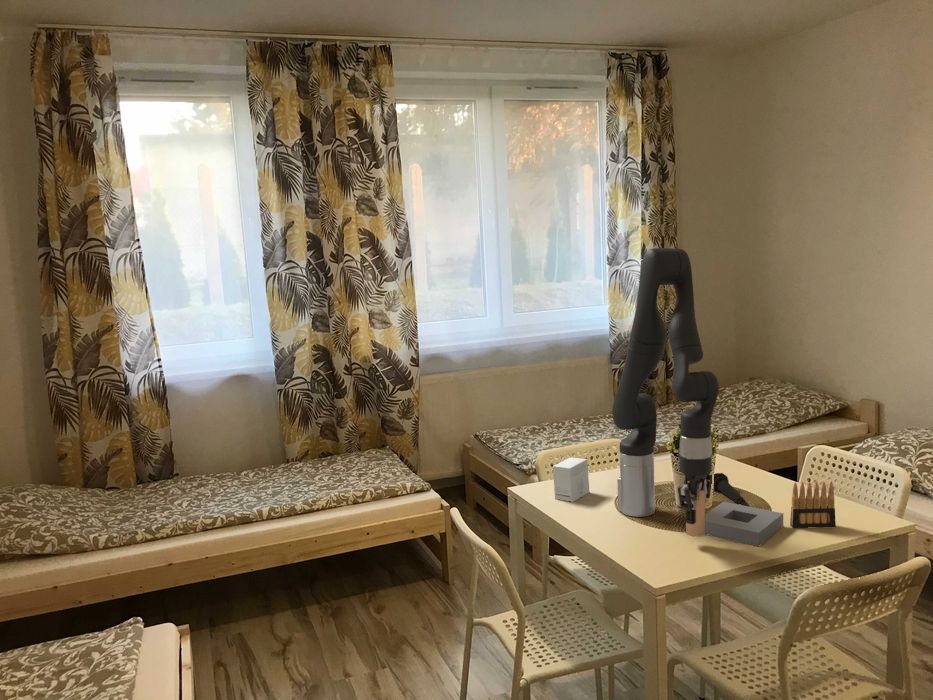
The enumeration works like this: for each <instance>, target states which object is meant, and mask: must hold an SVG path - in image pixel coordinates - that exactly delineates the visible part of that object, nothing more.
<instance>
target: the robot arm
mask: <svg viewBox="0 0 933 700" xmlns="http://www.w3.org/2000/svg"><path fill="white" fill-rule="evenodd" d="M660 286H673V288H674V292H675V305H674V309H673V313H672V314H671V318H670V321H669V324H668V334H667V328H666V325H665V322H664V320H663V318H662V316H661V313H660V311H659V307H658V295H659V294H658V293H659V288H660ZM636 299H637V300H636V307H635V312H634V316H633V321H632V326H631V331H630V334H629V338H628V344H627V350H626V357H625V361H624V365H623V369H622V373H621V378H620V381H619V384H618V387H617V390H616V392H615V396H614V400H613V403H612V410H611V413H612V414H611V415H612V421H613V424H614V425H615V426H616V428H618V429H619V430H623V431H625V430H626V431H628V430H631V432H629V434H628V435H627V436H626V437H624V438H623V439H621V440H620V442H619V471H620V472H619V474H620V475H619V476H618V478H617V480H616V481H617V482H616V483H617V511H618V512H620V513H622V514H624V515H626V516H629V517H637V518H639V517H642V518H643V517H649V516H651V515H653V514H655V512H656V510H655V509H656V504H655V503H656V502H655V500H656V499H655V497H656V496H655V491H656V490H655V458H654V457H655V456H654V455H655V454H654V452H655V451H654V450H655V449H654V447H655V444H656V443H657V442H656V441H657V424H658V423H657V421H658V420H657V418H658V417H657V406H656V403H655V400H654V399H653V397H652V395H650V394H647V393H640V392H641V389H642V386H643V385H644V383H645V382H646V381H647V379H648V378H649V376H650V375H651V374H652V373H653V372H654V370H655V369H656V368H657V366H658V365H659V363H660V361H661V359H662V358H663V355H664V351H665V346H666V341H667V337H668V339H669V344H670V349H671V353H672V357H673V368H672V369H673V372H672V373H673V376H672V392H673V394H674V395H673V396H675V399H677V400H678V401H680V402H681V403H693V402H696V403H695V406H693V407H691V408H689V409H687V410H684V411H683V412H681V414H680V436H679V437H680V438H679V448H678V449H679V450H678V451H679V454H678V455H679V472H680V473H682V474H683V475H684V481H683V485H682V486H680V485H679V486H678V487H677V495H678V500H679V506H680V508H681V509H685V523H686V522H687V523H689V524H695V523H696V509H695V508H696V501H698V500H699V493H700V491H701V490H702V489H703V490H705V504H707V501H708V499H710V497H711V491H712V490H711V489H712V488H711V484H712V475H713V474H712V471H713V470H712V468H713V466H712V465H713V463H712V462H713V461H712V460H713V458H712V456H713V453H712V452H713V445H712V444H713V443H712V434H711V433H712V426H711V425H712V416H713V413H714V409H715V406H716V402H717V399H718V396H719V390H720V385H719V380H718V378H717V375H715V374H714V373H713V372H712V371H709V370H702V371H692V372H691V371H690V370H689V369H690V368H689V367H690V366H691V365H693V364H694V365H695V364H696V363H699V362H701V361H702V360H703V358H704V351H703V347H702V343H701V339H700V335H699V331H698V326H697V325H698V324H697V319H696V313H695V312H696V311H695V310H696V309H695V297H694V282H693V270H692V264H691V260H690V257H689V254H688V253H687V252H686V250H684V249H682V248H676V247H675V248H674V247H672V248H671V247H669V248H668V247H666V248H665V247H658V248H656V247H655V248H649V249H648V250H647V251H646V252H645V253H644V255H643V257H642V259H641V265H640V272H639V281H638V290H637V298H636ZM667 335H668V336H667ZM690 494H693V495H695V496H694V497H692V496H690ZM691 500H692V502H691Z"/></svg>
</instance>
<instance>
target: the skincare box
mask: <svg viewBox="0 0 933 700" xmlns="http://www.w3.org/2000/svg"><path fill="white" fill-rule="evenodd" d="M588 460H589V459H587V458H579V457H572V456H571V457H568V458H566V459H564V460H562V461H560V462H559V463H556V464H555V465H553V466H552V469H553V470H552V471H553V472H552V473H553V486H554V487H553V488H554V489H553V491H554V499H555V500H557V499H560V500H559V501H563V500H566V501H565V502H568V501H571V502H570V503H574V502H576V501H578V500H579V499H581V498H582V497H584V496H585V494H586V495H588V494H589V493H590V480H589V464H588V463H589V462H588ZM580 497H581V498H580ZM573 501H574V502H573Z"/></svg>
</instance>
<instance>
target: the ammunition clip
mask: <svg viewBox="0 0 933 700" xmlns="http://www.w3.org/2000/svg"><path fill="white" fill-rule="evenodd" d="M805 488H806V489H805ZM798 492H799V493H798ZM836 522H837V521H836V508H835V493H834V484H833V481H832V480H830V482H829V484H828V490H827V486H826V482H825V481H822V483H821V489H820V486H819V483H818V481H815V483H814V486H813V487H812V484H811V481H809V482H808V483H807V487H805V484H804V482H803V481H801V483H800V486H799V489H798V484H797V482H796V481H795V482H794V483H793V487H792V496H791V509H790V523H789V526H790V527H791V528H792V529H809V528H808V527H835V528H837V525H836V524H837V523H836Z"/></svg>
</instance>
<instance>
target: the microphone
mask: <svg viewBox="0 0 933 700" xmlns="http://www.w3.org/2000/svg"><path fill="white" fill-rule="evenodd" d="M714 473H715V472H714ZM714 473H713V474H714ZM729 482H730V481H729V477H728V476H727V475H726V474H724V473H723V472H717V473H715V474H714V489H713V490H714V491H720V493H723V495H724V496H725V497H726V496H728V497H727V498H728V499H730V500H731V501H733V502H734V503H735V502H736V503H735V504H741V505H743V506H748V504H747V503H746V500H745V499H744V497H743V496H741V495H742V494H741V495H740V493H739V492H738V491H737V490H736V489H735V488H734V487H733V486H732V485H731V484H730V483H729Z"/></svg>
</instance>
